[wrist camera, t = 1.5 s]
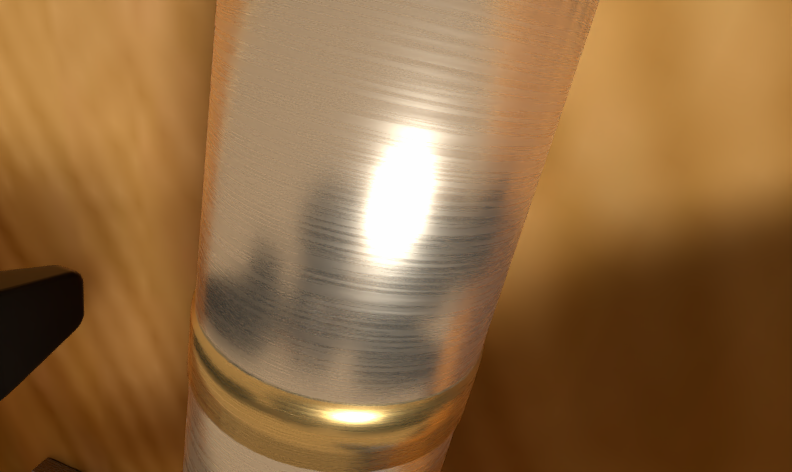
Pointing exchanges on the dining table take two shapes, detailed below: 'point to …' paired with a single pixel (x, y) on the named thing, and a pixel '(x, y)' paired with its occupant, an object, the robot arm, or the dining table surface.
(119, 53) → the dining table surface
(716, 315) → the dining table surface
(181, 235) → the dining table surface
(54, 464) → the collar cradle
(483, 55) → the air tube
